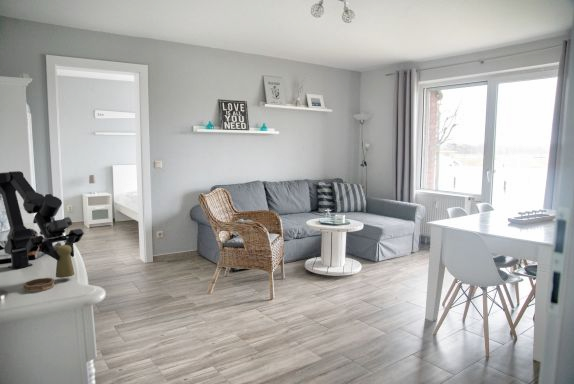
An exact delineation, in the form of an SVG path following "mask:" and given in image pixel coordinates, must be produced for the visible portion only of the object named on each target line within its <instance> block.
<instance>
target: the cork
mask: <svg viewBox="0 0 574 384" xmlns="http://www.w3.org/2000/svg"><path fill="white" fill-rule="evenodd" d="M54 249H55V251H56V252H57V254H58V256H59V258H60V259H59V260H56V269H55V278H58V279H62V278H69V277H72V276H74V275H75V271H74V265H73V260H72V256H71V255H70V253H71V251H72V249H71V247H70V246H69V245H65V244H62V245H58V246H56V247H55V248H54Z"/></svg>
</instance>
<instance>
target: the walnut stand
mask: <svg viewBox="0 0 574 384" xmlns="http://www.w3.org/2000/svg"><path fill="white" fill-rule="evenodd" d="M54 286H55V279H54V278H50V277H43V278H42V277H41V278H36V279H35V278H34V279H33V280H28V281H26V282H24V284H23V286H22V287H23V290H24V292H25V293H38V292H44V291H48V290H50V289H53V288H54Z"/></svg>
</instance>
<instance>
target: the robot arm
mask: <svg viewBox="0 0 574 384" xmlns="http://www.w3.org/2000/svg"><path fill="white" fill-rule="evenodd" d="M17 193H18V194H19V196H20V197H21V198H22V200H23V204H22V206H23V209H24V211H25V212H26V213H27V214H29V215H31V214H34V217H33V221H32V223H33V224H37V226H38V228H39V230H40V231H39V235H35V236H33V234H32V229H31V228H27V227H26V226H25V224H24V219H23V217H22V211H21V209H20V205H19V199H18V197H17ZM0 195H1V197H2V202H3V205H4V210H5V213H6V217H7V223H8V226H9V231H8V233H7V236H6V238H7V241H6V243H5V245H4V247H3V250H4V253H5V254H7V255H9V256H10V259H11V260H10V261H11V264H10V265H8V266H7V268H9V269H10V268H11V269H15V270H18V269H22V268H27V267H31V266H33V263H31V262H29V253H34V252H37V251H38V252H39V253H43V254H45V255H47V256H48V257H51V258H52V259H54V260H55V261H57V260H59V259H60V258H59V256H58V254H57V252H56V251H55V249H56V248H54V245H53V244H54V243H58V242H63V243H64V245H69V246H70V247H71V249H72V251H71V253H70V256H71V258H73V257H74V256H75V251H74V250H75V249H74V244H75V243H78V242H80V241H81V239H82V237H83V236H84V234H85V233H84V231H83V229H82V228H75V229H71V230H69V233H67V234H65V232H66V229H68V228H69V227H71V226H72V225H73V222H72V219H71V218H70V217H69V216H67V217H64V218H62V219H56V220H55V216H57V214H58V212H59V210H60V209H61V207H62V204H63V202H62V199H60V198H58V197H57V196H54V195H53V194H52V193H49V194H45V196H44V195H43V194H42V193H39V192H37V191H36V190H35V188H33V186H32V185H31V184H30V183H29V181H28V180H27V179H26V177H25V176H24V172H23V171H19V170H16V171H14V170H13V171H8V172H7V171H5V172H0Z"/></svg>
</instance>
